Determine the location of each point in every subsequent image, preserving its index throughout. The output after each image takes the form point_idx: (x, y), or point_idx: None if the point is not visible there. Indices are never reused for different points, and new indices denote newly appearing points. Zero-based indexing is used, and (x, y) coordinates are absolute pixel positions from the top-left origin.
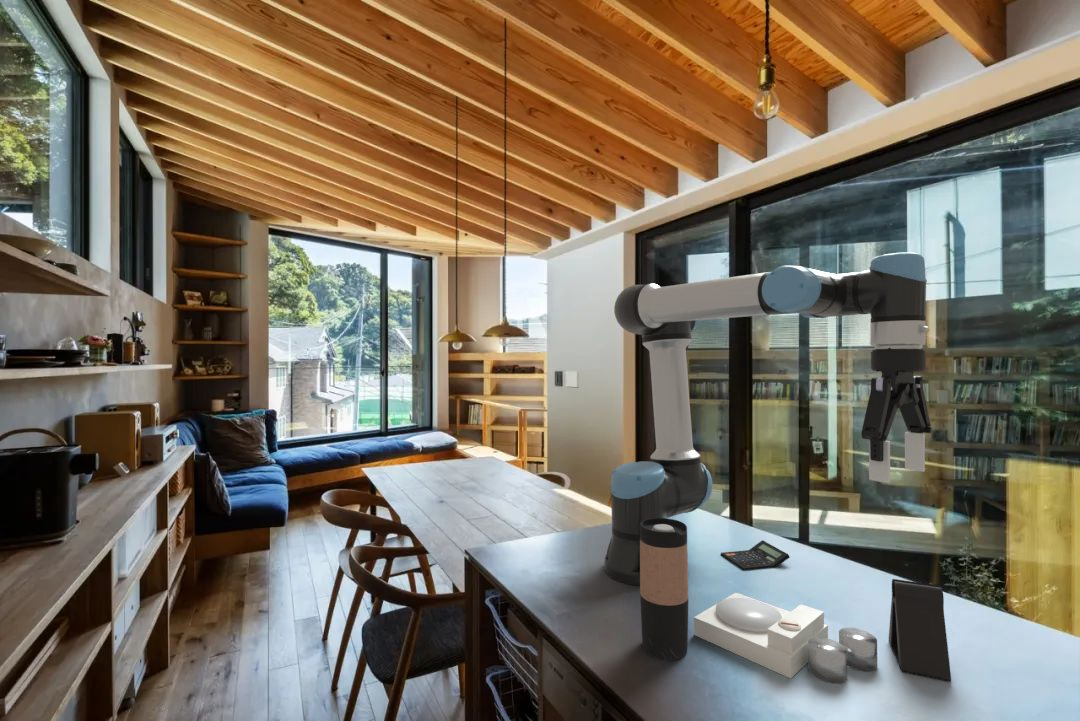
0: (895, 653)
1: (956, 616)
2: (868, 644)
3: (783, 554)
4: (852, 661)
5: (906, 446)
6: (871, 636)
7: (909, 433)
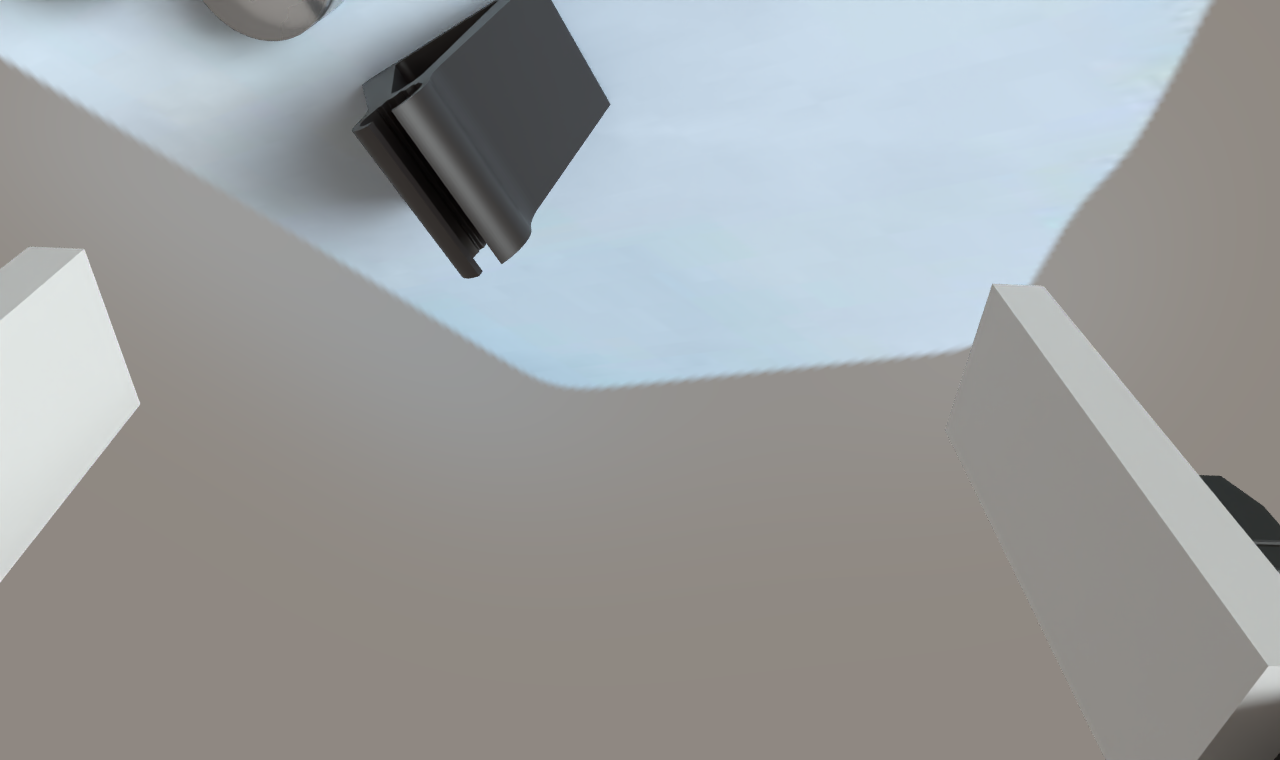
0: (456, 31)
1: (981, 78)
2: (235, 26)
3: None
4: None
5: (1112, 484)
6: (306, 8)
7: (1214, 702)
